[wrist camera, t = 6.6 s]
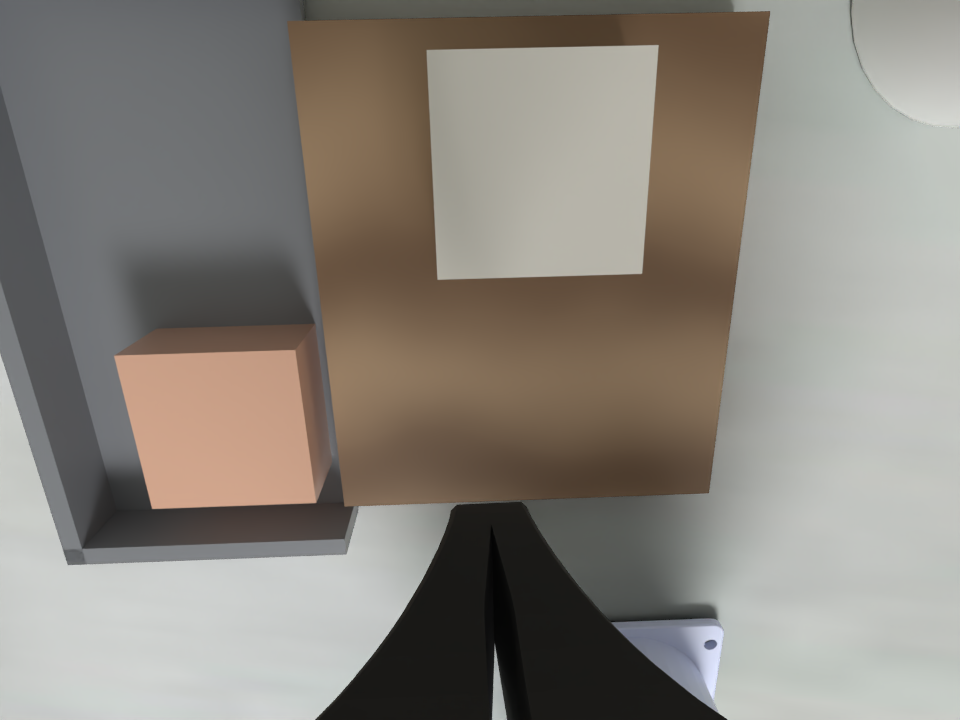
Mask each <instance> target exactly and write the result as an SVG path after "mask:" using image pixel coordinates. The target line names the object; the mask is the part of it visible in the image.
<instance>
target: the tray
mask: <svg viewBox="0 0 960 720" xmlns="http://www.w3.org/2000/svg"><path fill="white" fill-rule="evenodd" d="M287 21H305V16H304V7H303V0H0V354H1V357H2V360H3V363H4V366H5V369H6V372H7V375H8V379H9V382H10V385H11V388H12V391H13V394H14V397H15V401H16V404H17V407H18V410H19V413H20V416H21V419H22V423H23V426H24V429H25V432H26V435H27V438H28V441H29V445H30V448H31V451H32V454H33V457H34V460H35V463H36V466H37V470H38V473H39V476H40V479H41V482H42V485H43V488H44V492H45V495H46V498H47V501H48V504H49V507H50V510H51V514H52V517H53V520H54V523H55V526H56V529H57V532H58V536H59V539H60V542H61V545H62V548H63V551H64V554H65V557H66V561H67V564H68V565H82V564H108V563H134V562H160V561H186V560H212V559H238V558H264V557H291V556H317V555H343V554H347V550H348V547H349V543H350V539H351V536H352V532H353V528H354V524H355V521H356V517H357V513H358V506H346V507H344V498H343V490H342V481H341V473H340V464H339V456H338V447H337V439H336V431H335V422H334V414H333V405H332V397H331V388H330V380H329V371H328V363H327V355H326V346H325V338H324V329H323V321H322V312H321V304H320V295H319V287H318V278H317V270H316V262H315V253H314V245H313V236H312V228H311V219H310V211H309V202H308V194H307V186H306V177H305V169H304V160H303V152H302V143H301V135H300V126H299V118H298V110H297V101H296V93H295V84H294V76H293V67H292V59H291V50H290V42H289V34H288V25H287ZM292 324H315V325H316V333H317V341H318V349H319V357H320V366H321V374H322V382H323V390H324V398H325V406H326V414H327V423H328V431H329V439H330V447H331V455H332V464H331V467H330V469H329V472H328V474H327V477H326V479H325V482H324V484H323V487H322V490H321V492H320V495H319V497H318V500H317V502H316V503H302V504H275V505H247V506H220V507H193V508H165V509H152V506H151V502H150V498H149V494H148V490H147V486H146V482H145V478H144V474H143V470H142V466H141V462H140V458H139V454H138V450H137V446H136V442H135V438H134V434H133V430H132V426H131V422H130V418H129V414H128V410H127V406H126V402H125V398H124V394H123V390H122V386H121V382H120V378H119V374H118V370H117V366H116V362H115V358H114V355H116V354H117V353H119V352H121V351H122V350H124V349H125V348H127V347H128V346H130V345H132V344H133V343H135V342H136V341H138V340H139V339H141V338H143V337H144V336H146V335H147V334H149V333H150V332H152V331H154V330H155V329H161V328H194V327H226V326H259V325H292Z"/></svg>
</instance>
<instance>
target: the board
mask: <svg viewBox="0 0 960 720" xmlns="http://www.w3.org/2000/svg"><path fill="white" fill-rule="evenodd" d="M769 17H770V11H761V12H712V13H662V14H612V15H562V16H512V17H462V18H412V19H363V20H313V21H287V25H288V34H289V42H290V50H291V59H292V67H293V76H294V84H295V93H296V101H297V110H298V118H299V126H300V135H301V143H302V152H303V160H304V169H305V177H306V186H307V194H308V202H309V211H310V219H311V228H312V236H313V245H314V253H315V262H316V270H317V278H318V287H319V295H320V304H321V312H322V321H323V329H324V338H325V346H326V355H327V363H328V371H329V380H330V388H331V397H332V405H333V414H334V422H335V431H336V439H337V447H338V456H339V464H340V473H341V481H342V490H343V498H344V507H346V506H373V505H400V504H428V503H455V502H482V501H510V500H537V499H564V498H591V497H619V496H646V495H673V494H700V493H709V488H710V480H711V472H712V464H713V456H714V448H715V441H716V433H717V425H718V417H719V409H720V401H721V393H722V386H723V378H724V370H725V362H726V354H727V346H728V339H729V331H730V323H731V315H732V307H733V299H734V292H735V284H736V276H737V268H738V260H739V252H740V245H741V237H742V229H743V221H744V213H745V205H746V198H747V190H748V182H749V174H750V166H751V158H752V150H753V143H754V135H755V127H756V119H757V111H758V103H759V96H760V88H761V80H762V72H763V64H764V56H765V49H766V41H767V33H768V25H769ZM639 45H659V47H658V61H657V75H656V88H655V102H654V116H653V130H652V144H651V158H650V172H649V185H648V199H647V213H646V227H645V241H644V255H643V269H642V274H620V275H585V276H551V277H516V278H482V279H447V280H437V259H436V238H435V217H434V197H433V176H432V155H431V134H430V113H429V92H428V71H427V50H450V49H497V48H544V47H592V46H639Z"/></svg>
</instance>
